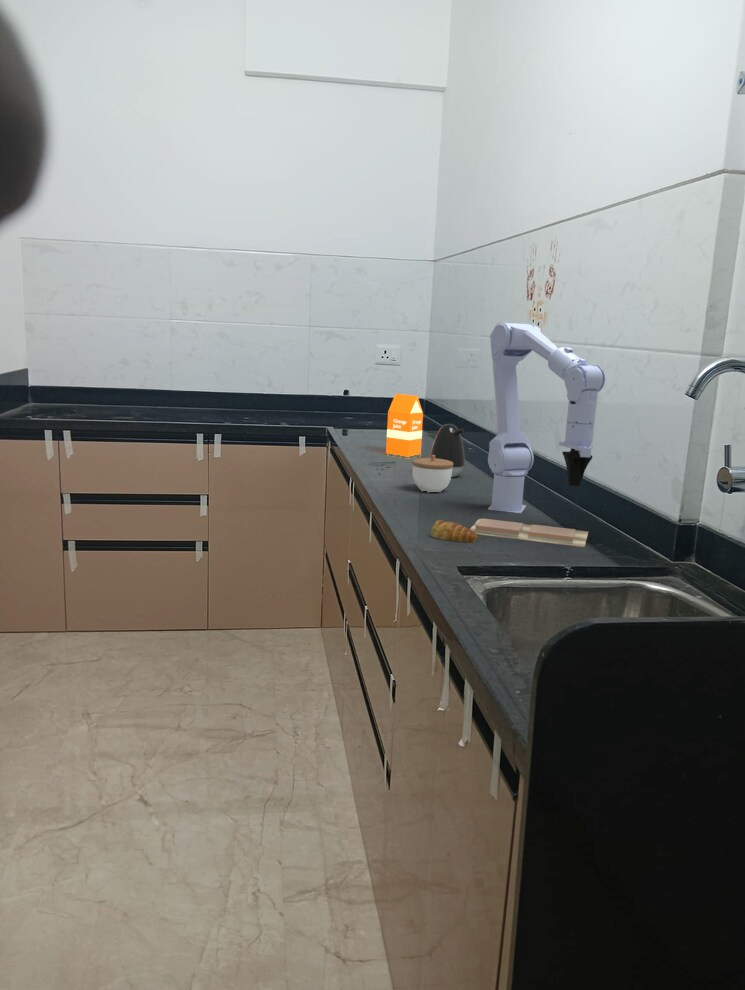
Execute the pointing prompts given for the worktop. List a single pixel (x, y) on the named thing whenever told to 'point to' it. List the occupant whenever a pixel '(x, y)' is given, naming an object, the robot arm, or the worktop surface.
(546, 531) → the tile
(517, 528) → the tile
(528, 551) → the worktop surface
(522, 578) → the worktop surface
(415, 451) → the orange juice
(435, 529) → the pastry
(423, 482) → the lidded jar
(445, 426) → the penguin figurine
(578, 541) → the board
